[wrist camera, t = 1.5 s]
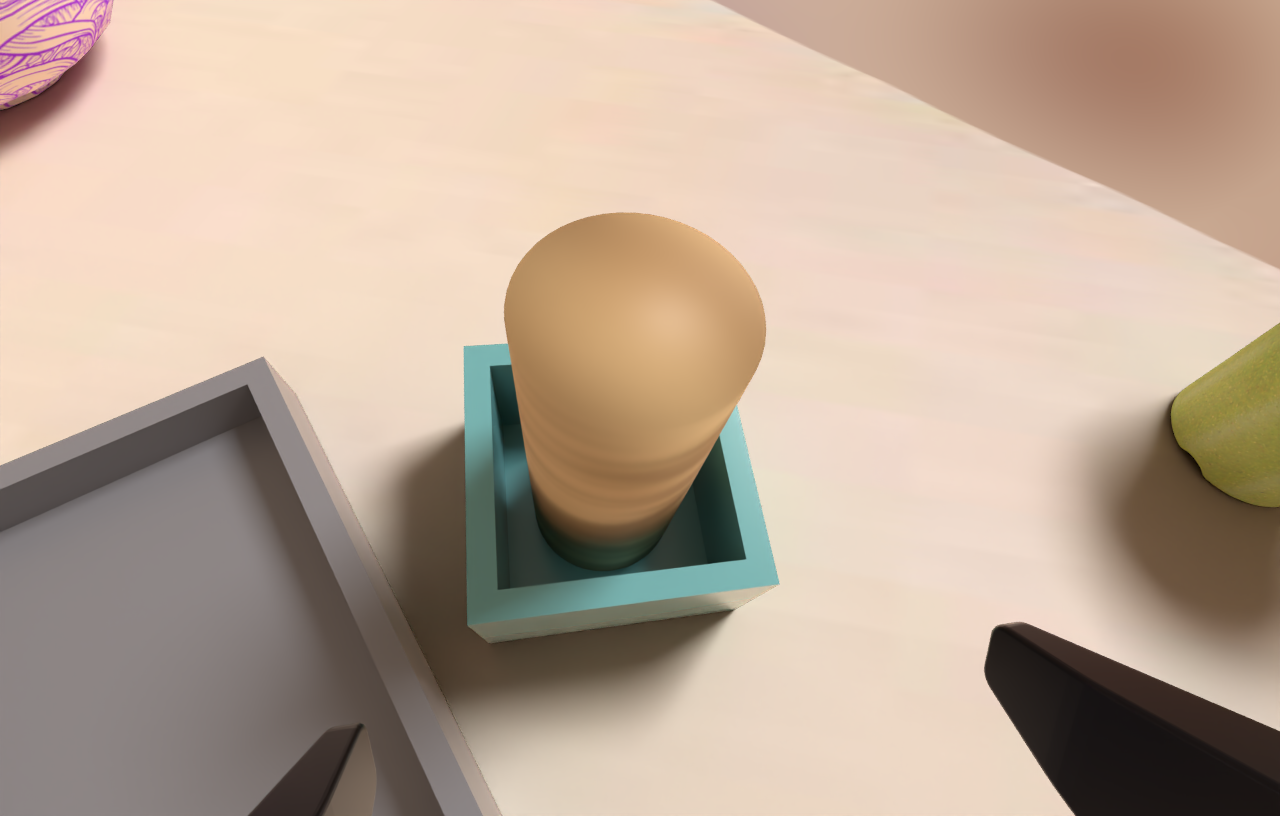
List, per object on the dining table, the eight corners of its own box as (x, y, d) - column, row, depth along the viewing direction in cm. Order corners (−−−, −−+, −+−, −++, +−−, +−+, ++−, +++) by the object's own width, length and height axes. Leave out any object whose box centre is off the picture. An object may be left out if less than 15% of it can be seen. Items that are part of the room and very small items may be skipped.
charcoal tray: (559, 932, 17) (557, 972, 14) (-42, 1456, 12) (-203, 1655, 9) (296, 394, 23) (263, 356, 20) (-163, 597, 18) (-278, 580, 16)
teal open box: (734, 609, 21) (779, 584, 17) (489, 643, 20) (467, 625, 15) (692, 398, 25) (719, 331, 20) (483, 414, 23) (463, 346, 19)
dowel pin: (616, 600, 20) (671, 485, 10) (506, 514, 21) (445, 322, 11) (695, 491, 22) (810, 299, 12) (591, 417, 23) (612, 176, 13)
